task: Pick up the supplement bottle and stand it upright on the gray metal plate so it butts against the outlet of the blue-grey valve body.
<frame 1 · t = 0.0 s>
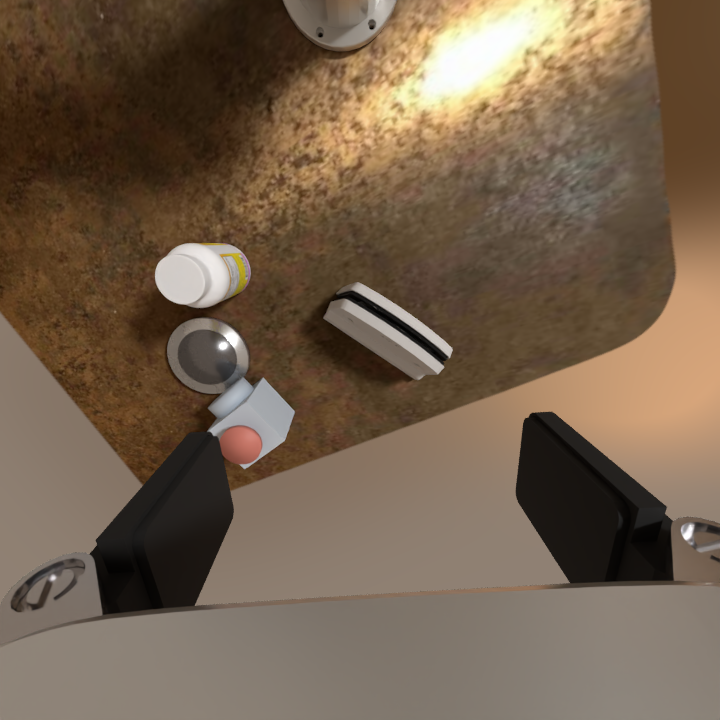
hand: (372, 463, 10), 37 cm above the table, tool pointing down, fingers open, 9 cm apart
gray metal plate: (210, 355, 48), on the table
valve body: (261, 408, 51), on the table
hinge: (386, 327, 48), on the table
supplement bottle: (227, 270, 45), on the table
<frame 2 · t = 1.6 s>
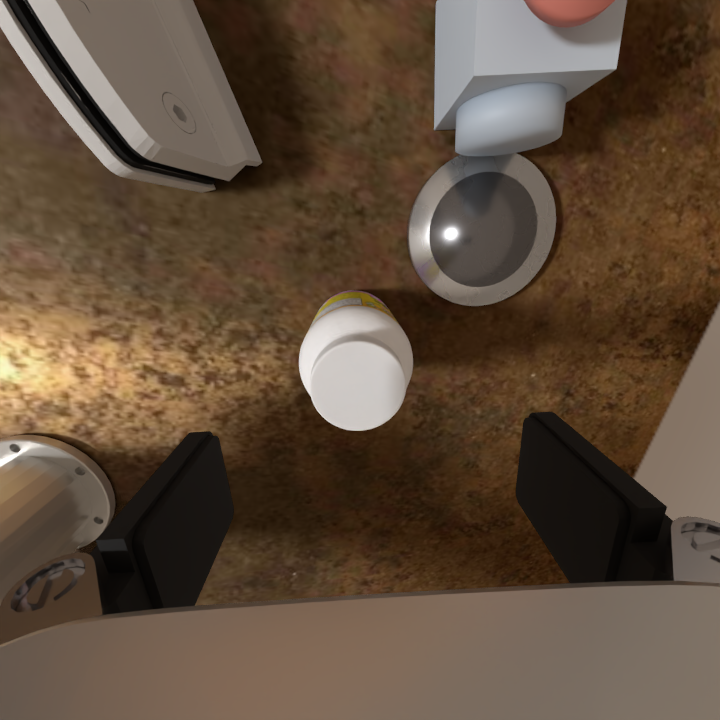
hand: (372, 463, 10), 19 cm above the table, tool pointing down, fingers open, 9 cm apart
gray metal plate: (477, 232, 26), on the table
valve body: (486, 67, 23), on the table
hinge: (157, 61, 23), on the table
supplement bottle: (354, 328, 29), on the table
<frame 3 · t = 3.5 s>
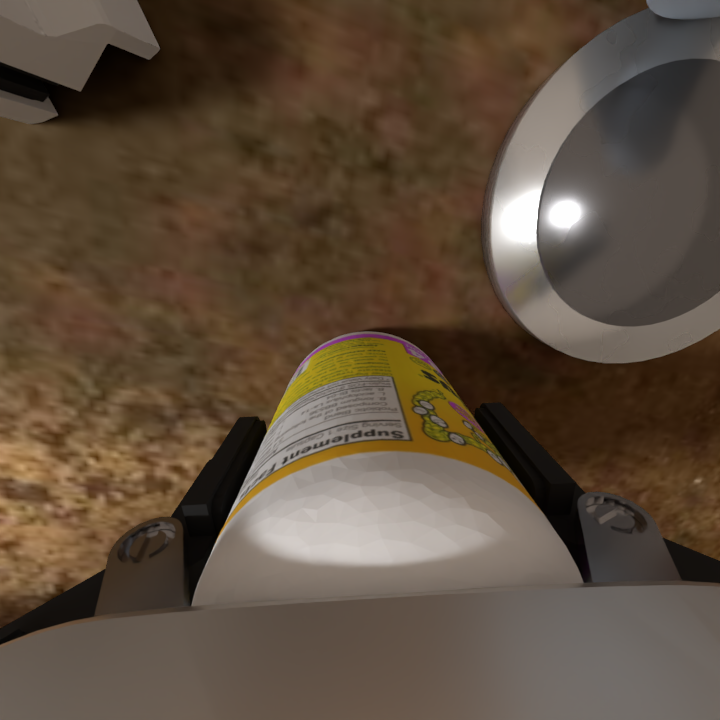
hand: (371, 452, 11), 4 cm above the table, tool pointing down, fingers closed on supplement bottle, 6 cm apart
gray metal plate: (632, 211, 12), on the table
supplement bottle: (366, 399, 15), on the table, touching gripper
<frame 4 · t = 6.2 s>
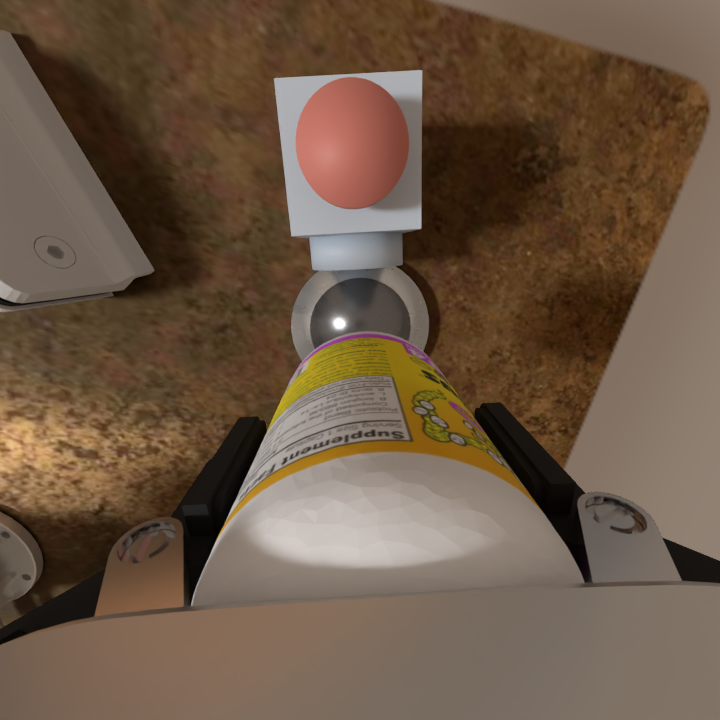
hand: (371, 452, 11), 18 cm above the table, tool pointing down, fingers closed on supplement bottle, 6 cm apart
gray metal plate: (360, 326, 28), on the table
valve body: (352, 185, 25), on the table
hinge: (49, 188, 25), on the table
supplement bottle: (366, 399, 15), point 14 cm above the table, touching gripper
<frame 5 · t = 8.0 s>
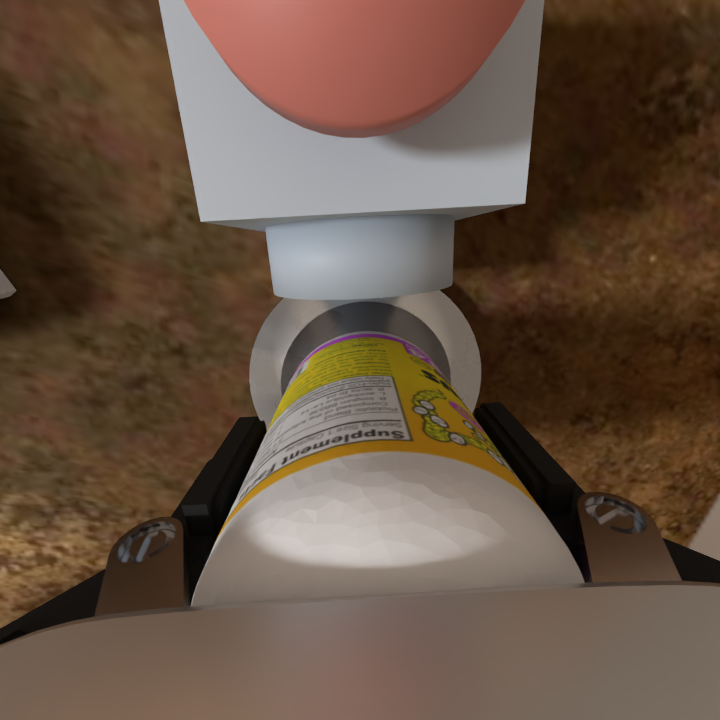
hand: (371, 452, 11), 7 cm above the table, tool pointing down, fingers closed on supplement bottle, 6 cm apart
gray metal plate: (365, 377, 17), on the table
valve body: (352, 137, 14), on the table
supplement bottle: (366, 399, 15), point 3 cm above the table, touching gripper
when the fingers open (5 cm above the table, at t = 9.3 s): supplement bottle stays where it is, resting on gray metal plate.
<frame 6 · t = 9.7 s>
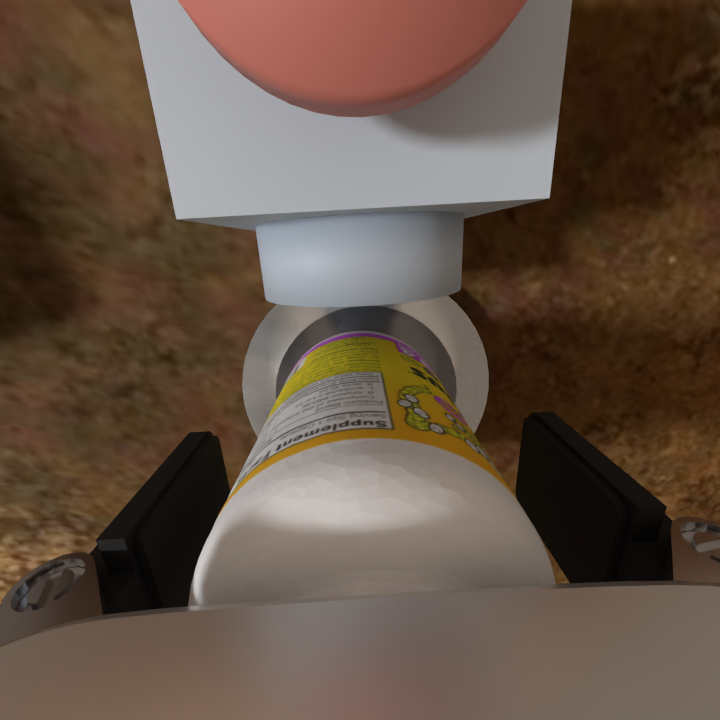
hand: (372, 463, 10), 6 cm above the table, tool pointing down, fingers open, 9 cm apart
gray metal plate: (365, 385, 16), on the table
valve body: (352, 129, 13), on the table
supplement bottle: (361, 396, 15), point 1 cm above the table, touching gray metal plate
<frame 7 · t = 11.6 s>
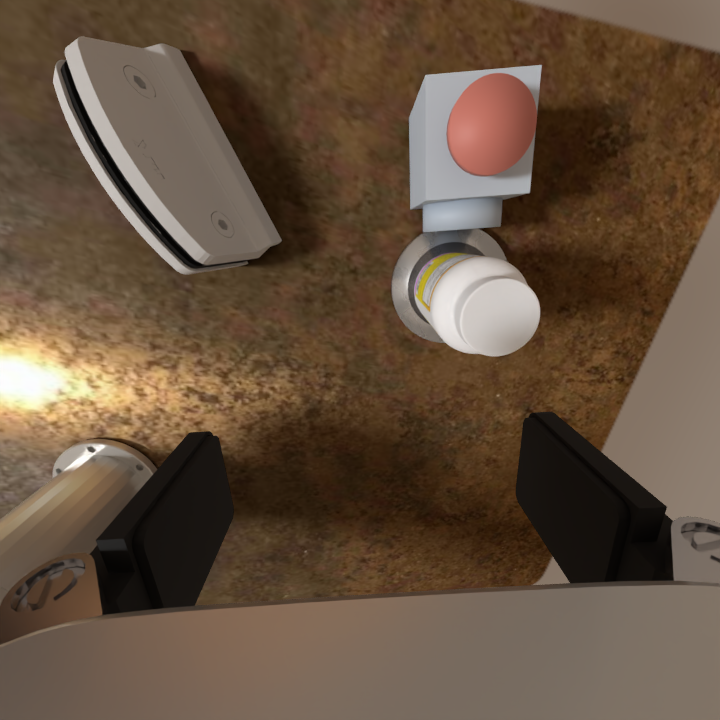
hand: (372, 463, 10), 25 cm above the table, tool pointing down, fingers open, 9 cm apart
gray metal plate: (447, 285, 33), on the table
valve body: (450, 162, 29), on the table
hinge: (200, 176, 30), on the table
supplement bottle: (447, 288, 32), point 1 cm above the table, touching gray metal plate
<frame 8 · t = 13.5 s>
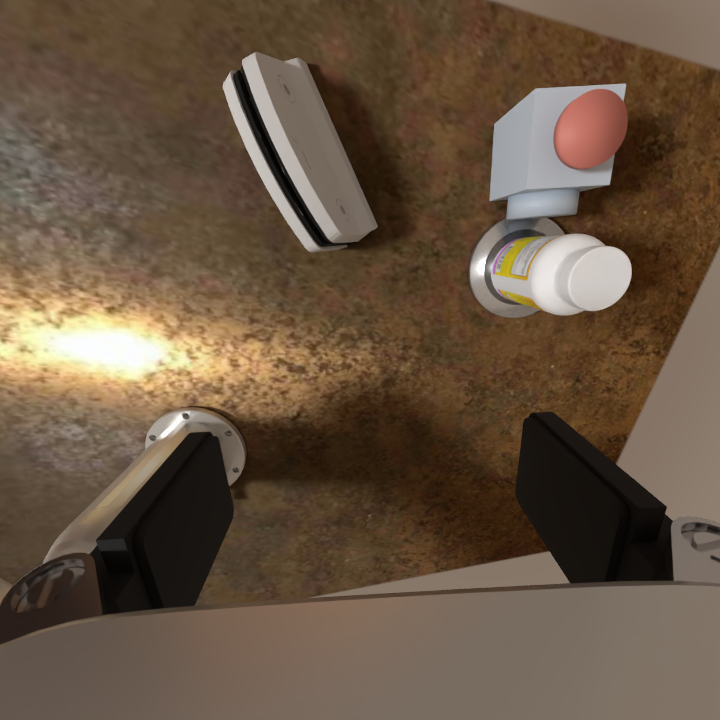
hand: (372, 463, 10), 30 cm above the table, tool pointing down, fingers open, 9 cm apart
gray metal plate: (516, 267, 38), on the table
valve body: (525, 161, 35), on the table
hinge: (311, 170, 35), on the table
supplement bottle: (518, 269, 37), point 1 cm above the table, touching gray metal plate
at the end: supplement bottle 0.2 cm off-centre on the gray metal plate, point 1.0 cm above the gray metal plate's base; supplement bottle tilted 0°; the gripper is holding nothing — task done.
